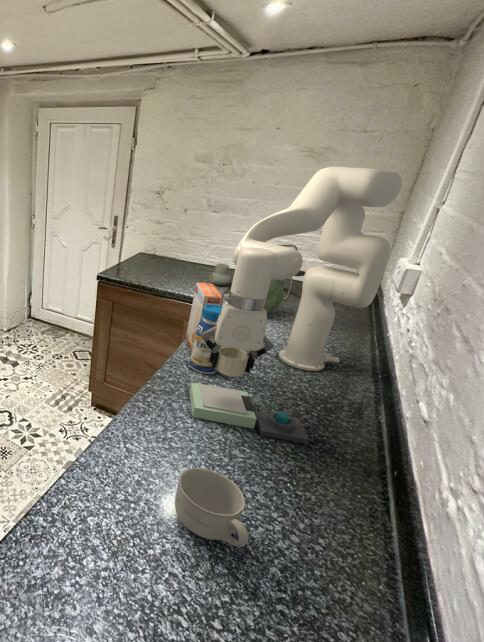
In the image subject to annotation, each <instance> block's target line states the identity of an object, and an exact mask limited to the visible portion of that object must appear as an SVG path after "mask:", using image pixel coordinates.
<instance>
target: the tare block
mask: <svg viewBox="0 0 484 642" xmlns="http://www.w3.org/2000/svg"><path fill="white" fill-rule="evenodd" d="M277 412H278V411H270V412H263V411H258V410H254V413H255V416H256V423H255V425H256V427H257V430H258V432H259V436H264V437H267V438H268V437H269V438H272V439H279V440H283V441H289V442H294V443H299V444H305V445H309V442H310V438H309V436H308V434H307V432H306V430H305V428H304V426H303V425H302V422H301V420H300V419H299V418H297V417H292V416H290V420H289V423H288V424H285V423H281V422H279V421H277V420H276V419H275V417H276V414H277Z"/></svg>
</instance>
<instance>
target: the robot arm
mask: <svg viewBox="0 0 484 642" xmlns="http://www.w3.org/2000/svg"><path fill="white" fill-rule="evenodd" d="M402 182H403V181H402V177H401V175H400V174H399V173H398V172H397V171H395V170H394V171H393V170H384V169H379V168H370V167H351V166H328V167H323V168H321V169H319V170H318V171H316V172H315V173H314V174H313V176H312V177H311V178H310V179H309V180H308V182H307V183H306V184H305V186H304V187H303V188H302V190H301V191H300V192H299V194H298V195H297V196H296V198H294V200H293V202H292V203H291V204H290V205H289V207H287V208H285V209H283V210H279V211H277V212H275V213H273V214H271V215H268V216H266V217H265V218H262V219H261V220H258V221H257V222H256V223H254V224H253V225H252V226H251V227H250V228H249V229H248V230H247V232H246V233H245V234H244V236H243V237H242V238H241V240H240V241H239V242H238V244H237V245H236V247H235V249H234V251H233V255H232V261H233V263H234V265H235V270H234V274H233V278H232V281H231V282H232V283H231V287H230V290H229V291H228V292H227V293H222V294H221V295H222V299H223V301H224V300H225V302H223V304H222V310H221V312H220V314H219V317H218V320H217V323H216V326H215V327H213V328H211V329H209V330H207V331H205V332H203V333H201V337H202V339H203V340H204V341H205V343H206V345H207V346H208V347H209V348H210V349H211V354H210V358H209V362H211V364H212V367H213V368H215V367H216V364H217V360H218V356H219V354H218V350H219V349H220V348H221V347H222V346H223V347H229V348H235V349H241V350H243V351H249V352H248V353H247V354H248V355H249V359H248V363H247V367H246V371H245V374H250V372H251V370H253V369H254V365H255V361H256V360H258V358H259V357H261V356H263V355H265V354H266V353H267V352H269V351H270V350H272V349H273V348H275V345H274V343H273V342H272V341H271V340H270V339H269V338H268V336H266V335H265V333H266V327H267V321H268V320H267V319H268V314H267V311H266V310H265V309H264V305H265V301H266V297H267V293H268V290H269V286H270V282H271V280H284V281H285V280H290V279H289V278H291V277H292V278H293V277H296V276H295V275H296V274H297V273H298V272H299V271H300V270H301V269H302V267H303V264H304V263H303V262H304V260H303V258H304V257H303V256H302V254H301V252H300V251H299V250H298V251H297V250H295V249H294V247H285V246H280V245H281V244H276V243H270V242H268V241H271V240H273V239H276V238H281V237H287V236H294V235H301V234H307V233H311V232H316V231H318V230H319V229H321V228H322V227H323V228H322V232H321V235H320V240H319V243H318V247H317V258H318V259H319V260H320V261H322V262H325V263H327V264H331V265H335V266H340V267H345V268H349V269H354V270H357V271H358V272H355V271H350V270H346V269H342V268H337V267H332V266H327V265H315V266H312V267H310V268H309V269H307V271H305V272H306V273H305V275H304V276H303V279H302V287H301V297H300V300H299V305H298V309H297V310H296V315H295V318H294V321H293V325H292V328H291V331H290V335H289V338H288V341H287V344H286V348H285V349H281V350H280V351H279V352H278V359H280V361H282V362H283V363H284V364H286V365H288V366H290V367H293V368H296V369H298V370H302V371H309V372H319V371H322V370H324V368H325V366H326V363H328V362H329V363H333V364H339V363H340V357H339V356H333V355H332V354H331V353H327V352H324V350H325V348H326V345H327V342H328V338H329V336H330V332H331V330H332V327H333V324H334V321H335V318H336V311H335V307H334V304H333V303H336V304H340V305H344V306H347V307H351V308H356V309H364V308H367V307H369V306H370V305H371V304H372V303H373V301H374V299H375V298H376V295H377V293H378V290H379V287H380V284H381V281H382V279H383V276H384V273H385V270H386V267H387V264H388V262H389V258H390V254H391V244H390V242H389V240H387V239H386V238H384V237H381V236H378V235H371V234H365V233H362V228H363V225H364V221H365V219H366V211H365V208H383V207H386V206H388V205H390V204H391V203H392V202H394V201H395V200H396V198H397V197H398V195H399V194H400V192H401V190H402V189H401V188H402ZM364 207H365V208H364ZM211 335H214V337H215V341H214V342H212V341H211V340H210V339H209V336H211Z"/></svg>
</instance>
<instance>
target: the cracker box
mask: <svg viewBox="0 0 484 642" xmlns="http://www.w3.org/2000/svg"><path fill="white" fill-rule="evenodd" d="M222 295H223V294H221V293H220V291H219V290H218V288H217V286H216V285H214V284H212V283H211V282H209V283H208V282H196V285H195V289H194V294H193V300H192V304H191V309H190V313H189V318H188V323H187V327H186V332H185V333H186V334H185V338H186V340H187V344H188V346H189V348H190V351H191V352H192V349H193V344H194V339H195V337H194V336H195V332H196V331H197V325H198V323H199V322H200V321H201V320H202V319H203V318H202V312H203V308H204V306H205V305H219V306H222V307H223V303H224V299H222Z"/></svg>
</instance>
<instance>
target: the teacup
mask: <svg viewBox="0 0 484 642" xmlns="http://www.w3.org/2000/svg"><path fill="white" fill-rule="evenodd" d="M174 508H175V512H176V515H177V517H178V519H179V520H180V522H181V523H182V524H183V526H184V527H186V528H187V529H188V530H189V531H190V532H191V533H193V534H194V535H197V536H198V537H201V538H204V539H206V540H212V541H219V540H220V541H221V542H223V543H227V544H229V545H231V546H234V547H238V548H242V547H245V546H246V545H247V544H248V543H249V540H250V539H249V537H250V536H249V532H248V529H247V527H246V526H245V524H244V523H243V522H242V521H240V519H241V517H242V513H243V512H244V510H245V508H246V499H245V496H244V494H243V492H242V490H241V489H240V487H238V486H237V484H236V483H235V482H233V481H232V480H231V479H229V478H228V477H227V476H225V475H224V474H221V473H219V472H217V471H215V470H212V469H208V468H203V467H189V468H188V469H185V470H183V471H182V472H181V473H180V475H179V477H178V483H177V487H176V491H175V496H174ZM235 530H236V531H237V533H238V539H237V538H235V537H233V536H232V534H233V533H234V532H235Z"/></svg>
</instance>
